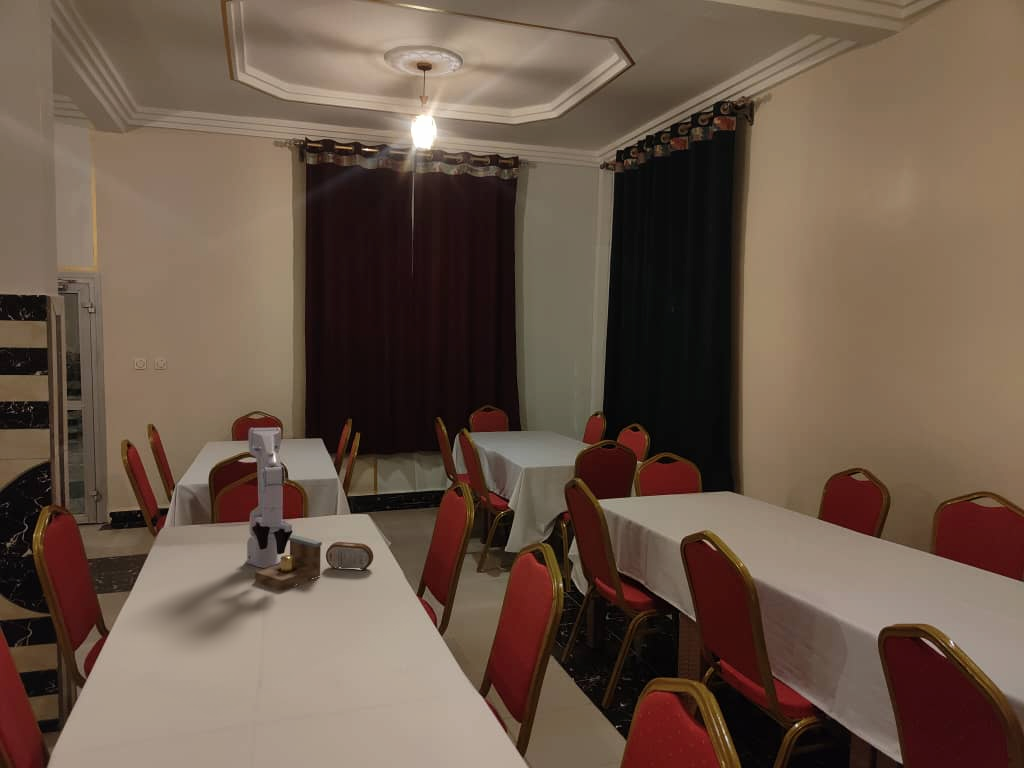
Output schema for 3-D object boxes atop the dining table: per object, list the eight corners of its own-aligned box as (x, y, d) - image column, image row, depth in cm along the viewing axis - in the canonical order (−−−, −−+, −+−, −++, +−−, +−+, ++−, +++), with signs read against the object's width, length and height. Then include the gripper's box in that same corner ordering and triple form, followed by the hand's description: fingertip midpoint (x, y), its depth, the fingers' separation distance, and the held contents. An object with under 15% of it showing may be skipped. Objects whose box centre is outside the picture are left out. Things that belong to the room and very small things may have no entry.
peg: (278, 579, 214) (278, 557, 213) (288, 576, 217) (288, 554, 216) (285, 582, 212) (285, 559, 211) (295, 579, 214) (295, 556, 214)
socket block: (253, 581, 212) (254, 545, 211) (292, 568, 224) (292, 534, 223) (283, 590, 205) (284, 553, 204) (321, 576, 217) (321, 541, 217)
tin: (373, 569, 226) (373, 543, 226) (370, 572, 223) (370, 546, 223) (327, 566, 228) (328, 540, 227) (324, 569, 225) (324, 543, 224)
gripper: (245, 505, 211) (244, 550, 212) (278, 513, 204) (278, 559, 205) (264, 501, 217) (263, 544, 218) (297, 508, 210) (296, 553, 211)
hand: (272, 551), depth 212 cm, fingers open, 7 cm apart
